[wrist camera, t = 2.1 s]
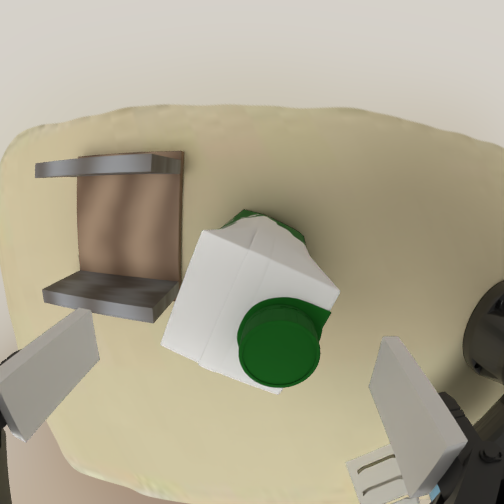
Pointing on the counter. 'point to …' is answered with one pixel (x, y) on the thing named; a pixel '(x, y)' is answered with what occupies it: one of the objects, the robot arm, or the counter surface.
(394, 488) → the grater
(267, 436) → the counter surface
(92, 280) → the carton caddy
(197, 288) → the soya milk
